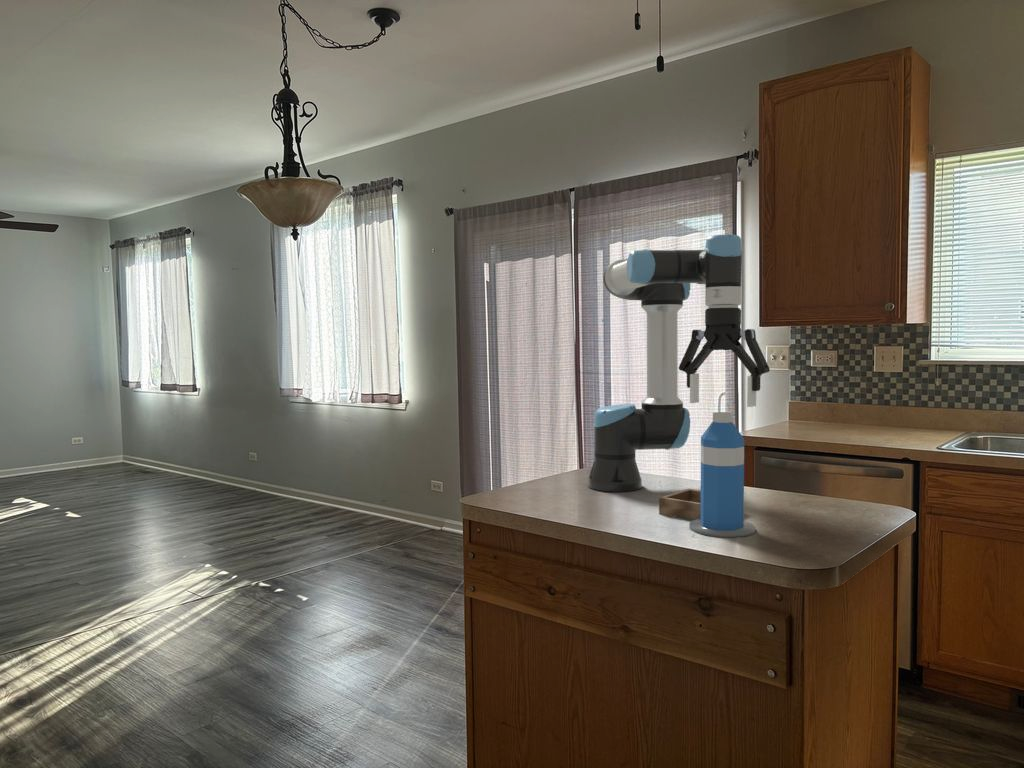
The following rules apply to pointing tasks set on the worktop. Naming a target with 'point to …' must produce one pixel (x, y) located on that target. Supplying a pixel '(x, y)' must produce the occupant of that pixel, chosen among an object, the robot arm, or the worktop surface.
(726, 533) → the coaster
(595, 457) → the robot arm
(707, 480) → the water bottle
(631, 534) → the worktop surface
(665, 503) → the square wooden frame
